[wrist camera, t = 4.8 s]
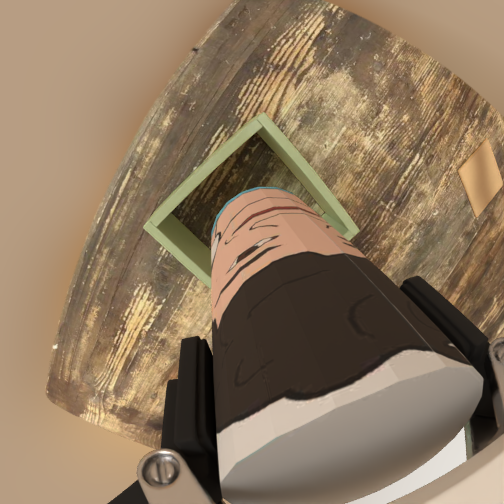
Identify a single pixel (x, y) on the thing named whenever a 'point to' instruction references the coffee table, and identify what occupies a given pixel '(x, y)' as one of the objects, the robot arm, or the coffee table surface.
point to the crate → (163, 220)
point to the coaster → (480, 177)
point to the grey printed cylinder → (321, 362)
